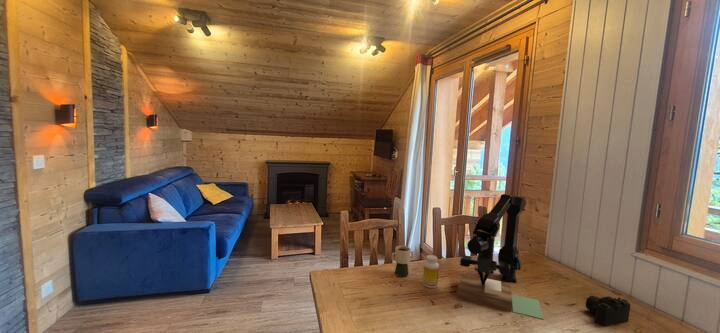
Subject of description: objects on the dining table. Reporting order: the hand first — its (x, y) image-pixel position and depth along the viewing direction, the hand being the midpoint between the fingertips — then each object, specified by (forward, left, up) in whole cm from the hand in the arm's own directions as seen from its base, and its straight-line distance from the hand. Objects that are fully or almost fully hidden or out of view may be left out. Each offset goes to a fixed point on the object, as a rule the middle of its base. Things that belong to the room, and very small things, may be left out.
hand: (482, 284), depth 124 cm
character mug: (-2, -35, -5) cm, 36 cm away
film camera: (-6, +43, -5) cm, 43 cm away
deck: (0, +1, -5) cm, 5 cm away
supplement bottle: (+1, -21, -5) cm, 22 cm away
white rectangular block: (0, +4, -1) cm, 4 cm away
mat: (0, +16, -5) cm, 17 cm away
